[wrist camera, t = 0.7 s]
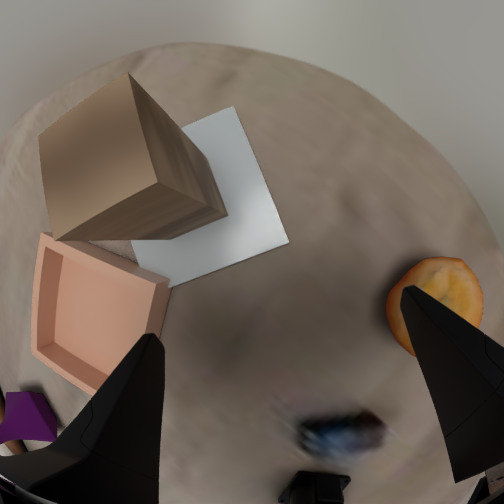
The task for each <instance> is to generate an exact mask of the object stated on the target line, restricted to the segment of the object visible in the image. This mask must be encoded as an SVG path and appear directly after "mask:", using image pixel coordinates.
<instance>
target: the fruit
mask: <svg viewBox="0 0 504 504" xmlns="http://www.w3.org/2000/svg"><path fill="white" fill-rule="evenodd" d="M409 285H415V286H417V287H418V288H420V289H421V290H423V291H424V292H426V293H427V294H429V295H430V296H432V297H433V298H435V299H436V300H438V301H439V302H441V303H442V304H444V305H445V306H447V307H448V308H450V309H451V310H452V311H454V312H455V313H457V314H458V315H460V316H461V317H462V318H464V319H465V320H467V321H468V322H469V323H471V324H472V325H473V326H475V327H476V328H478V327H479V325H480V322H481V320H482V314H483V308H484V307H483V292H482V290H481V287H480V285H479V282H478V279H477V278H476V276H475V274H474V273H473V272H472V271H471V269H470V268H469V267H468V266H467V265H466V264H465V263H464V261H463V260H462V259H459V258H449V257H432V258H428V259H424V260H422V261H421V262H420V263H418V264H417V265H415V266H414V267H412V268H411V269H410V270H409V271H408V272H407V273H406V274H405V275H404V276H403V277H402V279H401V280H400V281H399V282H398V283H397V284H396V285H395V286H394V287H393V288H392V289H391V291H390V292H389V295H388V298H387V301H386V315H387V318H388V322H389V325H390V328H391V331H392V334H393V336H394V337H395V339H396V340H397V342H398V343H399V344H400V345H401V346H402V347H403V348H404V349H405V350H406V351H408V352H409V353H410V354H411V355H413V356H415V357H416V355H415V352H414V350H413V347H412V345H411V341H410V338H409V335H408V331H407V328H406V325H405V322H404V319H403V315H402V312H401V309H400V300H401V295H402V290H403V288H404V287H406V286H409Z"/></svg>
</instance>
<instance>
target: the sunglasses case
mask: <svg viewBox="0 0 504 504" xmlns="http://www.w3.org/2000/svg"><path fill="white" fill-rule="evenodd" d="M4 415H5V406H4V402H3V400H2V397H1V394H0V424H1V423H2V421H3V419H4ZM4 444H5V445H6V446H7V447H8V449H9V450H10V451H11V452H12V453H13V454H15V455H17V454H21V453H26V452H27V450H26V449H25V447H24V445H23V443H22V442H21V440H20V439H19V440H11V441H8V442H4Z"/></svg>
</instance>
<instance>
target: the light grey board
mask: <svg viewBox="0 0 504 504" xmlns="http://www.w3.org/2000/svg"><path fill="white" fill-rule="evenodd" d="M181 130H182V131H183V132H184V133H185V134H186V135H187V136H188V137H189V139H190V140H191V141H192V142H193V143H194V144H195V145H196V146H197V147H198V148H199V150H200V151H201V152H202V153H203V154H204V155H205V156H206V157H207V160H208V162H209V165H210V168H211V170H212V173H213V176H214V178H215V181H216V184H217V186H218V189H219V192H220V194H221V197H222V199H223V202H224V205H225V207H226V210H227V213H228V215H229V216H227V217H224V218H222V219H219V220H217V221H215V222H212V223H210V224H207V225H205V226H202V227H200V228H198V229H195V230H193V231H191V232H188V233H186V234H183V235H181V236H179V237H176V238H174V239H172V240H131V243H132V246H133V249H134V252H135V255H136V258H137V261H138V264H139V267H141V268H144V269H146V270H149V271H151V272H154V273H156V274H159V275H161V276H164V277H167V278H169V279H170V282H169V286H168V288H170V287H173V286H176V285H178V284H181V283H184V282H186V281H189V280H192V279H194V278H197V277H200V276H202V275H205V274H208V273H210V272H213V271H215V270H218V269H221V268H223V267H226V266H229V265H231V264H234V263H237V262H239V261H242V260H244V259H247V258H250V257H252V256H255V255H258V254H260V253H263V252H265V251H268V250H271V249H273V248H276V247H279V246H281V245H284V244H286V243H289V241H288V238H287V236H286V233H285V230H284V228H283V225H282V223H281V220H280V218H279V215H278V212H277V210H276V207H275V205H274V202H273V200H272V197H271V195H270V192H269V190H268V187H267V185H266V182H265V180H264V178H263V175H262V173H261V170H260V168H259V165H258V163H257V161H256V158H255V156H254V153H253V151H252V149H251V146H250V144H249V142H248V139H247V137H246V135H245V132H244V130H243V128H242V125H241V123H240V121H239V118H238V116H237V114H236V112H235V109H234V107H233V106H232V107H229V108H227V109H224V110H222V111H219V112H217V113H215V114H212V115H210V116H207V117H205V118H203V119H200V120H198V121H196V122H194V123H191V124H189V125H187V126H185V127H183V128H181Z"/></svg>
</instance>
